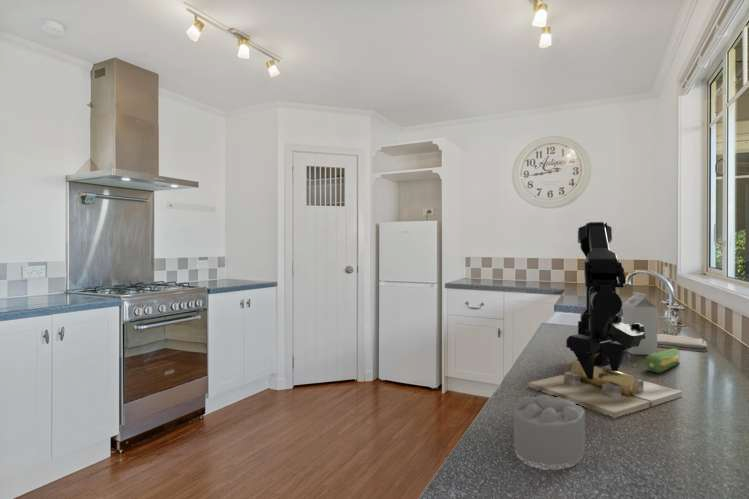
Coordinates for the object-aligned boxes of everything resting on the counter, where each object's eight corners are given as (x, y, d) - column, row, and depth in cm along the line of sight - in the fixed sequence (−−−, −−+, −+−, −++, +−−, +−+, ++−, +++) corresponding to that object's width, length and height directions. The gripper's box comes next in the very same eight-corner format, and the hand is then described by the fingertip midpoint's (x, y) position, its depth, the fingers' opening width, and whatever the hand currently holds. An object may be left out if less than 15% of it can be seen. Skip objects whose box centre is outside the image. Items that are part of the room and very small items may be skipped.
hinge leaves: (528, 387, 107) (528, 372, 107) (593, 371, 119) (593, 358, 119) (614, 418, 88) (614, 400, 88) (682, 396, 100) (682, 380, 99)
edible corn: (638, 356, 119) (656, 354, 116) (667, 347, 131) (684, 345, 128) (644, 375, 118) (662, 374, 114) (673, 364, 130) (690, 363, 126)
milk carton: (645, 349, 142) (645, 291, 142) (657, 355, 135) (657, 294, 135) (622, 349, 143) (622, 291, 143) (633, 355, 136) (633, 294, 136)
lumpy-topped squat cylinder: (591, 448, 75) (590, 398, 75) (566, 479, 65) (565, 422, 65) (531, 431, 82) (531, 386, 82) (501, 457, 72) (500, 406, 72)
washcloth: (708, 353, 139) (708, 344, 138) (642, 346, 149) (642, 337, 149) (706, 346, 148) (706, 337, 148) (644, 340, 158) (644, 331, 158)
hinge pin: (570, 380, 108) (570, 362, 108) (582, 377, 110) (582, 359, 110) (626, 398, 96) (625, 377, 96) (638, 393, 98) (637, 373, 98)
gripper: (610, 318, 91) (610, 392, 92) (660, 311, 100) (660, 378, 100) (564, 311, 101) (564, 378, 101) (614, 305, 110) (614, 366, 110)
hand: (602, 375), depth 103 cm, fingers open, 9 cm apart
